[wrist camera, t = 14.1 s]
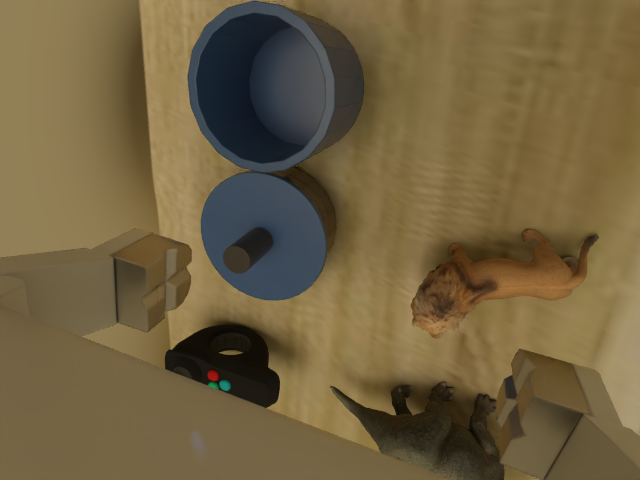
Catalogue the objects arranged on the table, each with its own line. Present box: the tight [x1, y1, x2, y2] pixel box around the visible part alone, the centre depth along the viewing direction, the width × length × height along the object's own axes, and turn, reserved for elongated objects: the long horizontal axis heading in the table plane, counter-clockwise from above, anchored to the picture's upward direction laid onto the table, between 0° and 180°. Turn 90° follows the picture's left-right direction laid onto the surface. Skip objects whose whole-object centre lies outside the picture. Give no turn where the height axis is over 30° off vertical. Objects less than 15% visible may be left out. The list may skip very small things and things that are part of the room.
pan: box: [267, 168, 336, 254], centre depth 40 cm, size 11×11×5 cm
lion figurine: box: [411, 229, 599, 339], centre depth 33 cm, size 15×5×9 cm, turn 115°
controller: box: [165, 325, 280, 408], centre depth 45 cm, size 4×12×10 cm, turn 83°
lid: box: [201, 171, 328, 300], centre depth 36 cm, size 12×12×6 cm
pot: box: [188, 1, 364, 173], centre depth 33 cm, size 11×11×9 cm
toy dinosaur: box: [330, 382, 504, 480], centre depth 39 cm, size 22×8×11 cm, turn 61°
